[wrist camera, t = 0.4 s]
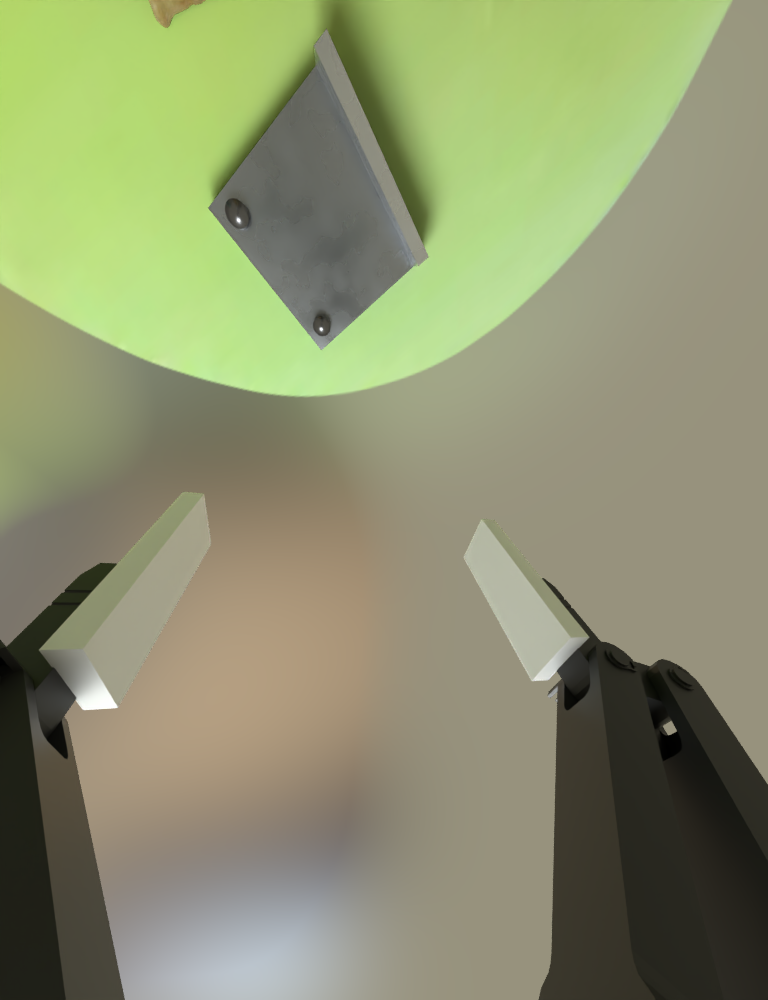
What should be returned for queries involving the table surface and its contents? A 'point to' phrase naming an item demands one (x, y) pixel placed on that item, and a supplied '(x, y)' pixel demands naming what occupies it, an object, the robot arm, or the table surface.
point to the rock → (170, 9)
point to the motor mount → (321, 205)
